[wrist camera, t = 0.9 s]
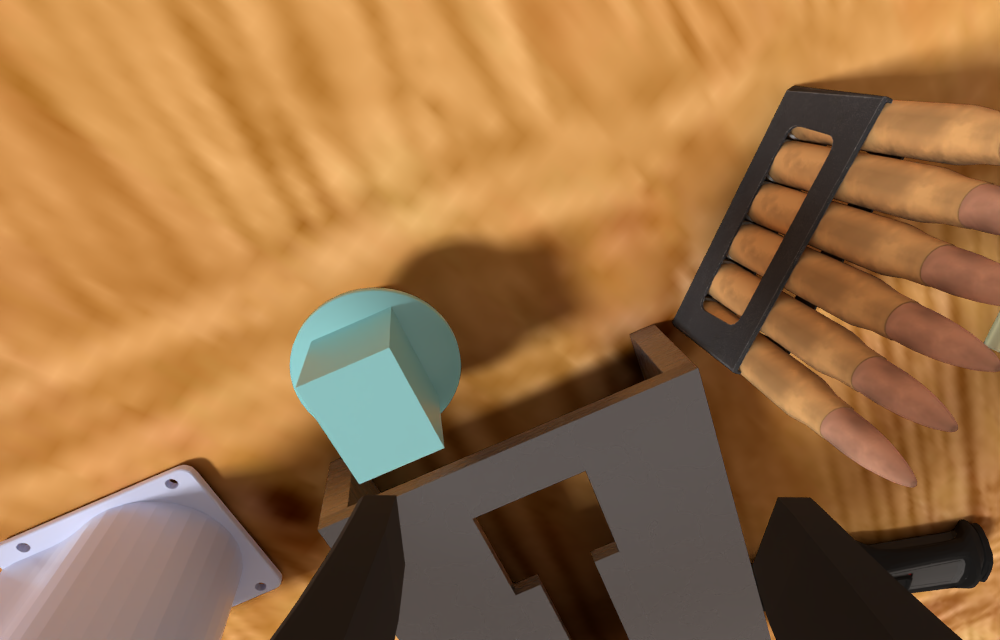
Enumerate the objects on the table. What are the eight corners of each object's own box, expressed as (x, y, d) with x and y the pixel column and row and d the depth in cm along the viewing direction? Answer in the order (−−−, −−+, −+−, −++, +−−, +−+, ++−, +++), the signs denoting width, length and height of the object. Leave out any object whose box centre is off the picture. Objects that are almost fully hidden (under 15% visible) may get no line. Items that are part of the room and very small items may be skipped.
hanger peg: (349, 411, 25) (331, 523, 19) (277, 296, 22) (228, 381, 16) (474, 358, 25) (498, 452, 19) (416, 236, 22) (421, 298, 16)
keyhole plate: (503, 718, 35) (515, 796, 31) (330, 462, 26) (317, 530, 22) (741, 618, 35) (783, 685, 31) (653, 324, 25) (698, 368, 22)
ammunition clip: (789, 85, 22) (1161, 94, 11) (825, 101, 23) (1216, 126, 12) (671, 324, 26) (867, 507, 15) (704, 334, 26) (919, 518, 15)
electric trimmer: (737, 539, 33) (769, 584, 30) (972, 512, 35) (1022, 552, 32) (727, 586, 34) (756, 633, 31) (952, 558, 36) (999, 600, 33)
